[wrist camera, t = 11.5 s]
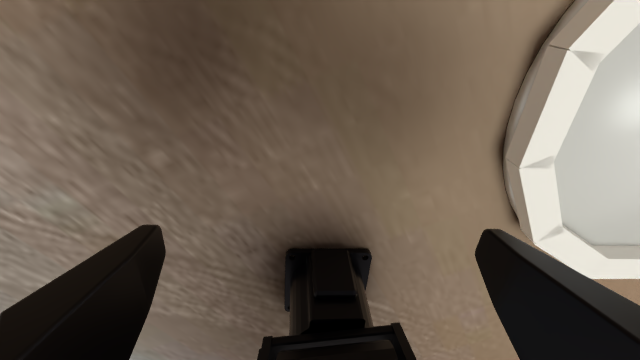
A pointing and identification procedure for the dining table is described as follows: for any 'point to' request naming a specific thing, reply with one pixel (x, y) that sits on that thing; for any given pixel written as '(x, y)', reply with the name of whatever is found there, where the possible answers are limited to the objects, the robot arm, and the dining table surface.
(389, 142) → the dining table surface
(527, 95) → the ring tray
